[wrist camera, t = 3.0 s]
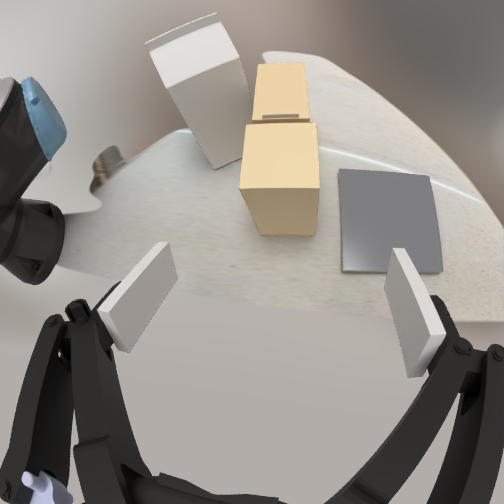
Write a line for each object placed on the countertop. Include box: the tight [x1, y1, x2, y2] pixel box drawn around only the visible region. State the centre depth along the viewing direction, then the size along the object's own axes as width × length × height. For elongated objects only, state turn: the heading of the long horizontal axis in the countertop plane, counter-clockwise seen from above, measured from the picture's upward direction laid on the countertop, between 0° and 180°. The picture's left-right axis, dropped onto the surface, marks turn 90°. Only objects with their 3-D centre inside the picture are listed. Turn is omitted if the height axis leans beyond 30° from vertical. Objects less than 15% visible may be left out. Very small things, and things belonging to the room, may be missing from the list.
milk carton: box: [145, 13, 253, 169], centre depth 26 cm, size 7×7×19 cm
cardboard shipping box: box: [252, 62, 310, 124], centre depth 28 cm, size 5×9×11 cm, turn 176°
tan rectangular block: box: [239, 123, 320, 236], centre depth 26 cm, size 6×6×11 cm
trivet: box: [338, 169, 443, 274], centre depth 28 cm, size 12×12×1 cm
